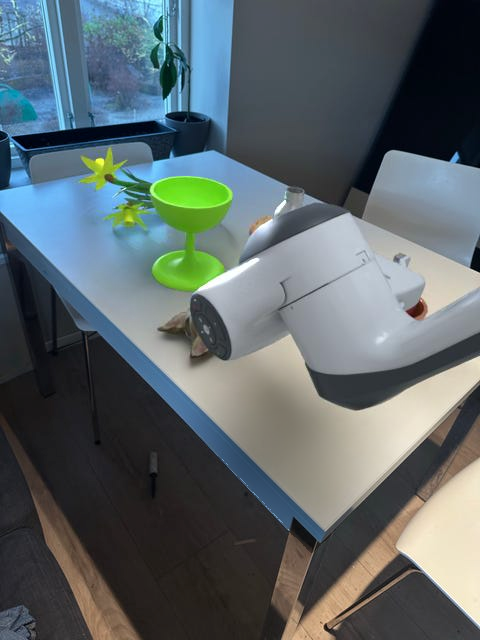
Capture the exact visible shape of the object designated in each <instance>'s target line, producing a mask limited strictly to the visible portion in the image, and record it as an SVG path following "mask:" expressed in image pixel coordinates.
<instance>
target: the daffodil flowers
mask: <svg viewBox="0 0 480 640" xmlns="http://www.w3.org/2000/svg"><path fill="white" fill-rule="evenodd" d="M112 149H113V148H112V146H109V147H108V150H107V153H106V156H105V158H103V157H98V158H96V159H91V158H88V157H86V156H83V155H80V156H79V157H80V159H81V160H82V162H83V164H84V165H85V166H86V167H87V168H88V169H90V170H91V171H92V172H93V174H91V175H89V176H88V175H87V177H86V176H85V177H84V178H81V179H79V180H77V181H76V183H78V184H85V185H86V184H94V183H95V187H94V192H98V191H100V190H102V189H103V188H104V187H105V186H106V184H107V183H109V184H111V185H115V186H119V188H120V190H119V192H117V193H115V194H114V196H112V199H113V198H115V197H116V196H118V195H120V194H121V193H124V194H126V195H127V196H129V197H131V198H129V197H128V198H127V197H124V198H123V199H124V200H125V201H126V202H127V203H120V204H117V206H115V207H113V208H112V210H119V211H116V212H113V213H109V214H108V215H106V216H104V218H103V219H101V221H106V220H107V221H108V220H110V219H113V221H112V228H115V227H117V226H118V225H120V224H121V223H122V225H123V227H125V228H133V227H134V228H135V226H136V224H137V225H139V226H141V227H142V229H144V230H148V227H147V226H146V224H145V223H144V221H143V219H142V218H141V217H140V215H146V214H147V215H148V214H152V215H157V212H152V211H149V210H150V209H155V208H154V205H153V203H152V201H151V195H150V187H151V186H152V184H153V182H149V181H146V180H144V179H140V178H139V177H137V176H135V175H134V174H133V173H132V172H131V171H130V170H129V169H128V168H126V170H127V171H126V170H125V169H123V168H122V166H123V165H125V163H126V162H127V161H128V158H126V159H125V160H123V161H120V162H119V163H115V164H114V157H113V150H112ZM117 170H120V171H121V172H122V173H123V175H125V176H127V177H128V178H129V179H130V180H132V181H126V180H121V179H119V178H118V176H117V175H116V174H115V172H117Z"/></svg>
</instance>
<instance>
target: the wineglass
mask: <svg viewBox="0 0 480 640" xmlns="http://www.w3.org/2000/svg"><path fill="white" fill-rule="evenodd" d="M149 196H151V201H150V202H152V203H153V205H154V208H153V209H154V210H155V213H156V215H158V217H159V218H160V219H161V220H162V221H163V222H164V223H165V224H166V225H167V226H169V227H171V228H172V229H174V230H177V232H181V233H185V242H184V243H185V244H184V245H185V246H184V248H185V249H181V250H175V251H170V252H167V253H165V254H163V255H161V256H159V257H158V258H157V259H156V260H155V261H154V263H153V265H152V267H151V274H152V277H153V279H155V280H156V281H157V282H158V283H159V284H161V285H162V286H164V287H166V288H169V289H172V290H176V291H180V292H181V291H182V292H195V291H196V290H198V289H199V288H200V287H202V286H203V285H205V284H206V283H208V282H209V281H211V280H213V279H214V278H216V277H218V276H219V275H221V274H223V273H225V272H226V269H225V266H224V264H223V263H222V262H221V261H220V260H219V259H218V258H217V257H215V256H213V255H211V254H209V253H206V252H203V251H200V250H199V251H198V250H195V247H196V246H195V243H196V234H199V233H200V234H201V233H204V232H206V231H209V230H211V229H213V228H215V227H217V225H218V224H220V223H221V222H222V221H223V220H224V219H225V217H226V216H227V214H228V213H229V210H230V208H231V205H232V201H233V198H234V194H233V191H232V189H230V187H229V186H227V185H225V184H224V183H223V182H219V181H217V180H215V179H210V178H207V177H201V176H194V175H177V176H175V175H174V176H169V177H165V178H161V179H159V180H157V181H154V182H152V186H151V187H150V194H149Z"/></svg>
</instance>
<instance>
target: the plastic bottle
mask: <svg viewBox="0 0 480 640" xmlns="http://www.w3.org/2000/svg"><path fill="white" fill-rule="evenodd" d="M304 196H305V190H304V189H303V188H301V187H298V186H288V187H286V188H285V193H284V195H283V199H284V201H282V202H281V203H280V204H279V206H277V207H276V209H275V212H274V218H276V217H278V216H280V215H282V214H285V213H287V212H290V211H293V210H295V209H298V208H301V207H304V205H303V202H304V199H305V197H304Z"/></svg>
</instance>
